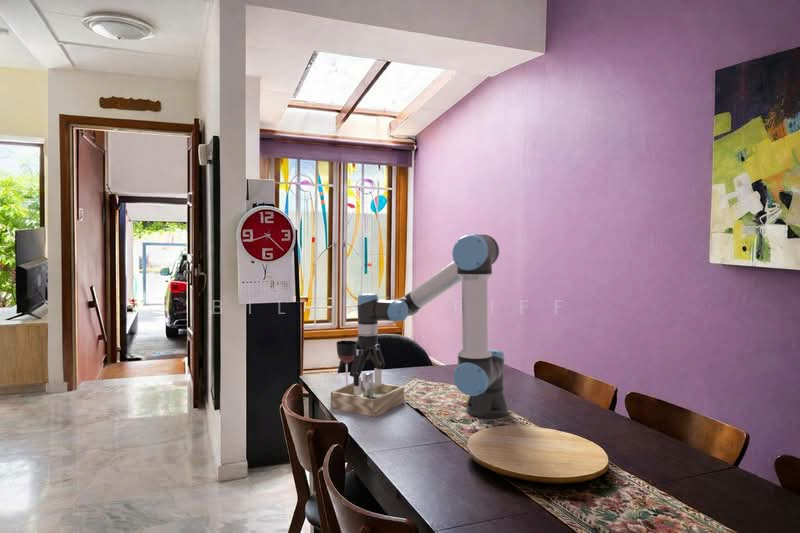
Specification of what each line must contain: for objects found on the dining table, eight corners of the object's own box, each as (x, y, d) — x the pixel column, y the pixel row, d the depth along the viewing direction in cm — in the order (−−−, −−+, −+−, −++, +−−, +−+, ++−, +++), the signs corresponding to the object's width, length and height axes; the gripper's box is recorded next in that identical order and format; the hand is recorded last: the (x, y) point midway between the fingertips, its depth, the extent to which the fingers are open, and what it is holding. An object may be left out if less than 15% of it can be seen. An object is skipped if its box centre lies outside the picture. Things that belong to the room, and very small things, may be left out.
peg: (375, 404, 202) (375, 373, 201) (369, 407, 198) (369, 375, 198) (366, 402, 204) (366, 371, 203) (360, 405, 200) (360, 374, 200)
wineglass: (348, 393, 215) (347, 345, 214) (332, 390, 221) (332, 342, 220) (360, 389, 222) (360, 342, 221) (345, 385, 227) (345, 339, 226)
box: (403, 402, 204) (403, 386, 204) (375, 416, 187) (375, 400, 187) (361, 394, 215) (361, 379, 214) (330, 407, 198) (330, 391, 197)
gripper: (377, 328, 212) (377, 380, 213) (339, 338, 191) (340, 396, 192) (393, 330, 208) (393, 383, 209) (356, 340, 187) (356, 399, 188)
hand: (368, 389), depth 201 cm, fingers open, 13 cm apart
